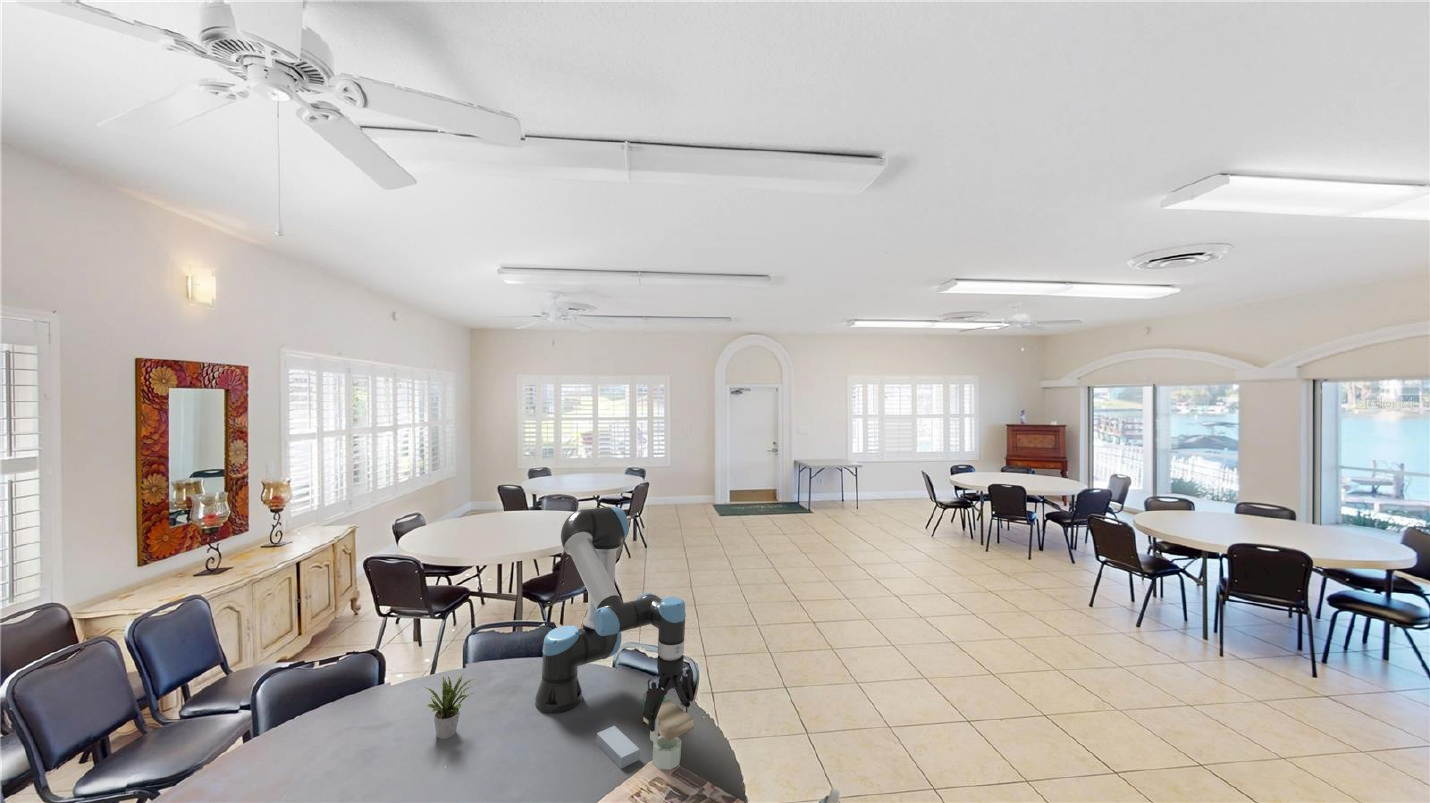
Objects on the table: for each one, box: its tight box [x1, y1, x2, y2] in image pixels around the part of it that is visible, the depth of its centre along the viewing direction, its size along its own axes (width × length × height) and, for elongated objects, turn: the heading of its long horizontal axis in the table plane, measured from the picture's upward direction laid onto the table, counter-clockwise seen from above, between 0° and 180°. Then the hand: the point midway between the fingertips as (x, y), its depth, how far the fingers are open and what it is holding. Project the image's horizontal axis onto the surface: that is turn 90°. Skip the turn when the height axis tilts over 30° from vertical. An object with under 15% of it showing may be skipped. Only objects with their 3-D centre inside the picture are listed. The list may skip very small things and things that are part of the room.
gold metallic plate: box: [642, 699, 695, 741], centre depth 147 cm, size 12×9×3 cm
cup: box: [652, 735, 682, 771], centre depth 147 cm, size 8×8×5 cm
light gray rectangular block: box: [596, 725, 641, 770], centre depth 150 cm, size 14×6×3 cm, turn 41°
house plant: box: [425, 673, 476, 740], centre depth 156 cm, size 14×14×16 cm
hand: (667, 734), depth 147 cm, fingers closed on gold metallic plate, 9 cm apart
